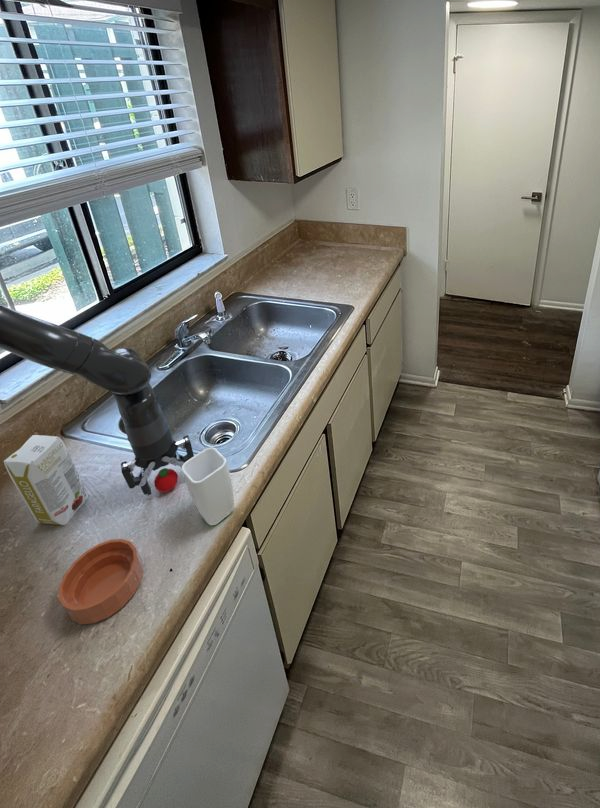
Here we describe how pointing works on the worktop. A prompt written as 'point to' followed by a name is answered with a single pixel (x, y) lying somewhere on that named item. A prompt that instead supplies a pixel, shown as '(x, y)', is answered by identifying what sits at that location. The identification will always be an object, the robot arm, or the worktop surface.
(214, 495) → the cup
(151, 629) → the worktop surface
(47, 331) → the robot arm
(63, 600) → the bowl
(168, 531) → the worktop surface
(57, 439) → the juice carton
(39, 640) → the worktop surface
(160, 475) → the tomato
